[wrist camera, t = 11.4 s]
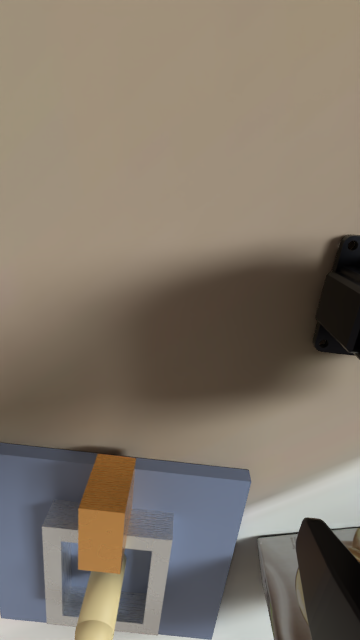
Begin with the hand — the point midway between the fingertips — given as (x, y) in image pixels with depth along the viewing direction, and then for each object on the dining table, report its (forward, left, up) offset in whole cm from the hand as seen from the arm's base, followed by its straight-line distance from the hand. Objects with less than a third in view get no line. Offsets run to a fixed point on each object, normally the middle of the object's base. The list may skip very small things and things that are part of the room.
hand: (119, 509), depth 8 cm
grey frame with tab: (+2, +16, -11) cm, 20 cm away
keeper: (+2, +19, -12) cm, 23 cm away
